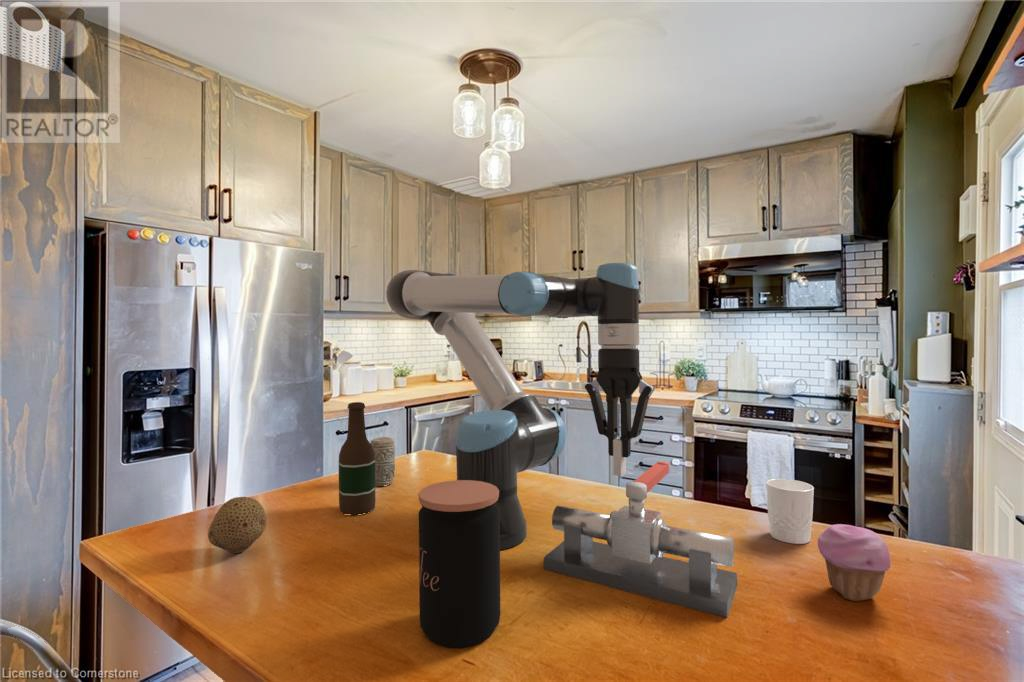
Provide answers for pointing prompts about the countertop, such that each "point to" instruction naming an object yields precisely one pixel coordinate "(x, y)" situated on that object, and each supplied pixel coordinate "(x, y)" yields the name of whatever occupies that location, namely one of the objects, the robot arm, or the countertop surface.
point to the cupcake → (854, 560)
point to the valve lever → (647, 481)
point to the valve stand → (645, 556)
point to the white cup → (790, 510)
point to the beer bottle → (356, 466)
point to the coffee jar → (459, 562)
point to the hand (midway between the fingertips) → (619, 473)
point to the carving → (384, 460)
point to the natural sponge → (237, 524)
